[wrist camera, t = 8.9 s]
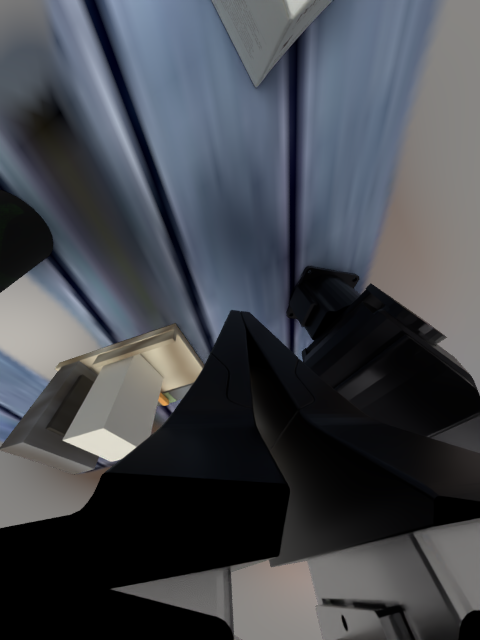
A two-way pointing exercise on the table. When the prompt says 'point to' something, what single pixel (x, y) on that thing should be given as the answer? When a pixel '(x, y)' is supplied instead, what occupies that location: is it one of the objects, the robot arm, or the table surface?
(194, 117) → the table surface
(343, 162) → the table surface
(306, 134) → the table surface
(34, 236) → the cup
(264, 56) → the skincare box
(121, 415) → the gauge slider
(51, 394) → the frame
